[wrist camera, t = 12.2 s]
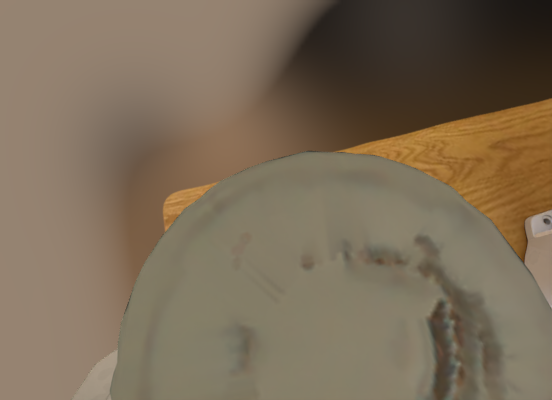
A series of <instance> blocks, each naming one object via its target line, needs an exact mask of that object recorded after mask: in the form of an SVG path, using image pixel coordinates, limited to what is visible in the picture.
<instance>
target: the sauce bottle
mask: <svg viewBox="0 0 552 400" xmlns="http://www.w3.org/2000/svg"><path fill="white" fill-rule="evenodd" d="M110 395H111V400H552V309H551V307H550V305H549V303H548V302H547V300H546V298H545V296H544V294H543V293H542V291H541V289H540V287H539V286H538V284H537V282H536V280H535V278H534V277H533V275H532V273H531V272H530V271H529V269H528V268H527V267H526V265H525V264H524V263H523V261H522V260H521V259H520V257H519V256H518V255H517V254H516V252H515V251H514V250H513V248H512V247H511V246H510V244H509V243H508V242H507V240H506V239H505V238H504V236H503V235H502V234H501V233H500V231H499V230H498V229H497V227H496V226H495V225H494V223H493V222H492V221H491V219H489V218H488V217H487V216H485V215H484V214H483V213H481V212H480V211H479V210H477V209H476V208H475V207H473V206H472V205H471V204H469V203H468V202H467V201H466V200H465V199H464V198H463V197H462V196H461V195H460V194H459V193H458V192H457V191H456V190H454V189H453V188H452V187H451V186H449V185H447V184H445V183H443V182H441V181H439V180H437V179H435V178H433V177H431V176H429V175H428V174H426V173H424V172H422V171H420V170H418V169H416V168H413V167H411V166H408V165H405V164H402V163H399V162H396V161H392V160H389V159H386V158H383V157H379V156H375V155H365V154H352V153H345V152H335V153H333V152H318V151H306V152H302V153H297V154H293V155H289V156H286V157H281V158H278V159H274V160H270V161H267V162H264V163H261V164H258V165H255V166H253V167H250V168H247V169H245V170H243V171H241V172H239V173H237V174H234V175H232V176H230V177H228V178H226V179H224V180H222V181H220V182H219V183H217V184H216V185H215V186H213V187H212V188H210V189H209V190H208V191H207V192H206V193H205V194H204V195H203V196H202V197H201V198H200V199H198V200H197V201H195V202H194V203H192V204H191V205H189V206H188V207H187V208H185V209H184V210H183V211H182V213H181V214H180V215H179V216H178V217H177V219H176V220H175V221H174V222H173V224H172V225H171V226H170V227H169V229H168V230H167V231H166V232H165V234H163V236H162V237H161V238H160V240H159V241H158V243H157V244H156V246H155V248H154V249H153V251H152V252H151V254H150V255H149V257H148V258H147V260H146V262H145V263H144V265H143V268H142V269H141V272H140V274H139V276H138V278H137V280H136V282H135V285H134V288H133V291H132V293H131V296H130V299H129V302H128V305H127V308H126V310H125V313H124V316H123V320H122V322H121V327H120V334H119V341H118V356H117V365H116V368H115V370H114V373H113V377H112V382H111V387H110Z"/></svg>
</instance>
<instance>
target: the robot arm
mask: <svg viewBox="0 0 552 400" xmlns="http://www.w3.org/2000/svg"><path fill="white" fill-rule="evenodd" d="M544 221H545V222H546V224H545V223H544ZM525 231H526V235H527V239H528V245H527V250H526V254H525V262H524V263H525V265H526V267H527V268H528V269H529V271H530V272H531V273H532V275H533V277H534V278H535V280H536V282H537V284H538V286H539V287H540V289H541V291H542V293H543V294H544V296H545V298H546V300H547V302H548V303H549V305H550V307H551V309H552V209H551V210H548V211H545V212H543V213H540V214H537V215H534V216H531V217H528V218H527V219H526V220H525ZM117 356H118V349H116V350H115V351H113V352H112V353H111V354H109V355H108V356H106V357H105V358H103V359H102V360H101V361H99V362H98V363H96V364H95V366H94V367H93V368H92V370H91V371H90V373H89V374H88V376H87V377H86V379H85V380H84V382H83V383H82V384H81V386H80V387H79V389H78V390H77V392H76V393H75V395H74V396H73V398H72V399H71V400H111V395H110V387H111V382H112V377H113V373H114V370H115V368H116V365H117Z"/></svg>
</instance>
